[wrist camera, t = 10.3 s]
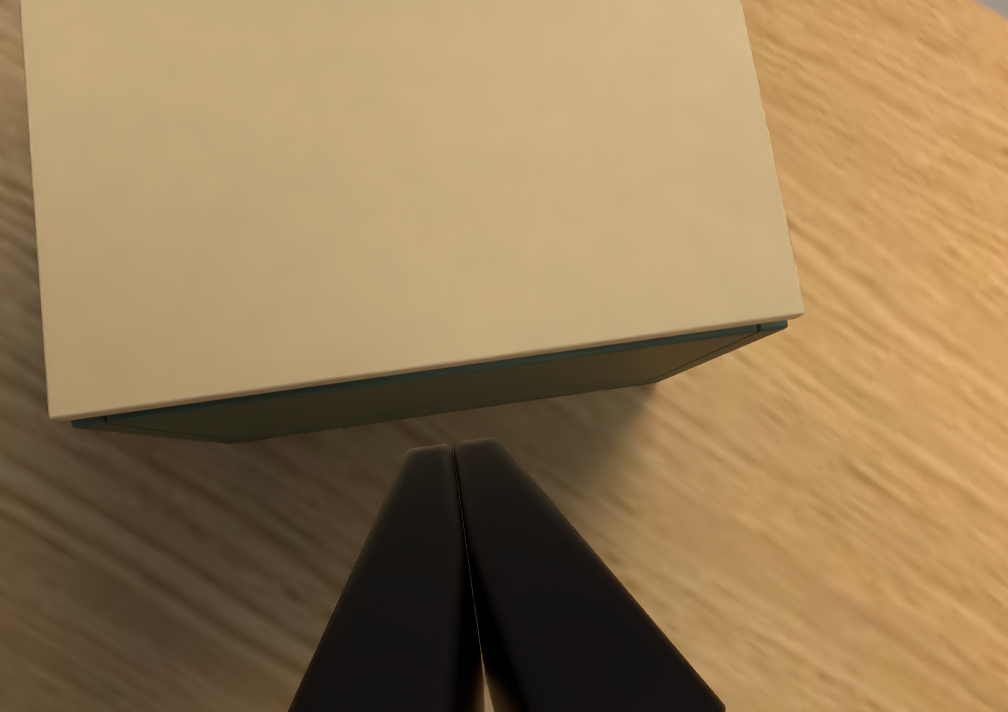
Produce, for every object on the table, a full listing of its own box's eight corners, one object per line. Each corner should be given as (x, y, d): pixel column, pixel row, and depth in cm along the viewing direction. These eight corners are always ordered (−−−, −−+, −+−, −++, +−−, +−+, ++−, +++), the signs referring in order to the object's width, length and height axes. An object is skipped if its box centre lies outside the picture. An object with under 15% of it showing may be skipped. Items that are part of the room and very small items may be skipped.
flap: (796, 319, 13) (807, 313, 12) (61, 421, 12) (47, 419, 12) (719, -60, 14) (726, -75, 13) (31, 12, 13) (17, -4, 12)
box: (659, 382, 22) (811, 318, 12) (226, 444, 21) (44, 425, 12) (579, -82, 23) (662, -444, 14) (175, -41, 22) (-22, -397, 13)
